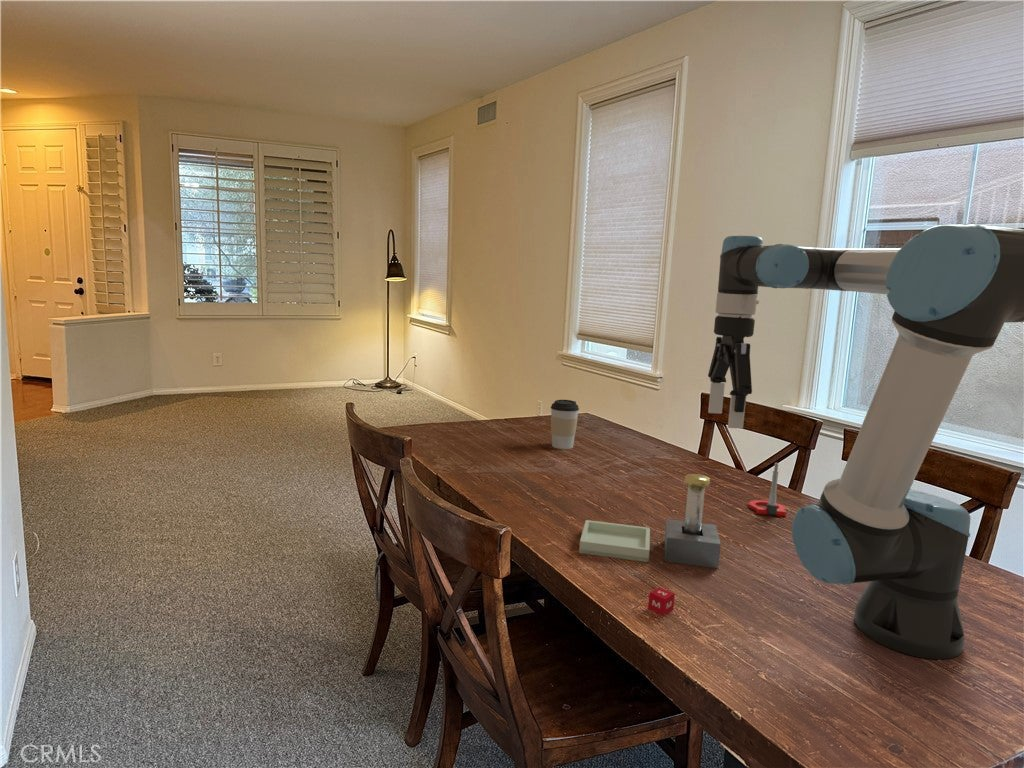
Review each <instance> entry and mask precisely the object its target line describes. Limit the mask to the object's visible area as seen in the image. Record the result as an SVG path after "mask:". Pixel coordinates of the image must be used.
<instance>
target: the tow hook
mask: <svg viewBox="0 0 1024 768" xmlns="http://www.w3.org/2000/svg"><path fill="white" fill-rule="evenodd" d="M778 470H779V462H774V468H773V471H772V476H771V477H772V478H771V487H770V493H769V496H768V500H761V499H759V500H758V499H755V500H750V501H749V502H748V507H749V508H750V509H751V510H754V511H756V514H757V515H764V516H765V515H766V516H770V515H771V516H772V517H783V516H786V517H787V511H786V507H785V506H784V505H782V504H780V503H777V495H778V494H777V487H778V479H779V478H778V477H779V471H778ZM759 504H764V505H763V506H766V507H762V506H760V505H759ZM777 508H778V509H777ZM771 516H770V517H771Z"/></svg>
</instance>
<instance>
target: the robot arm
mask: <svg viewBox="0 0 1024 768" xmlns="http://www.w3.org/2000/svg"><path fill="white" fill-rule="evenodd" d="M763 241H764V240H763V238H762V237H761V236H756V235H728V236H726V237H725V238H724V239H723V242H722V248H721V252H720V255H719V258H720V259H719V272H718V284H717V293H716V299H715V300H716V302H715V313H716V314H717V315H716V317H714V326H713V333H714V335H718V336H717V337H715V347H714V350H713V354H712V359H711V363H710V365H709V366H710V367H709V370H708V374H707V376H708V378H709V380H710V387H709V388H710V389H709V390H710V391H709V399H708V414H722V413H723V408H724V407H723V406H724V405H723V404H724V396H725V387H726V386H725V385H726V384H725V383H727V379H726V376H727V373H728V371H730V378H731V379H730V380H731V385H732V386H731V387H732V389H731V390H730V392H729V395H730V401H729V402H730V404H729V411H728V421H727V428H728V429H744V425H745V424H744V422H745V413H746V405H747V396H748V395H751V394H752V393H753V386H752V373H751V372H752V371H751V370H752V368H751V358H750V357H751V343H749V342H747V343H745V340H744V339H745V338H750V337H753V335H754V334H755V333H754V331H755V325H756V324H755V322H756V320H755V318H754V317H752V316H755V315H756V311H757V305H759V303H760V300H759V299H758V295H759V294H758V293H759V287H762V288H763V287H764V288H772V289H803V290H804V289H806V290H808V289H811V290H813V289H814V290H828V291H829V290H831V291H841V292H855V293H868V294H880V295H886V297H887V300H888V302H889V305H890V307H891V308H892V309H893V310H894V312H893V314H892V315H891V316H892V317H891V322H892V323H893V326H894V328H895V329H896V330H897V332H898V336H897V337H896V338H897V339H896V341H895V343H894V346H893V348H892V351H891V353H890V356H889V359H888V360H887V363H886V366H885V368H884V370H883V373H882V375H881V378H880V379H879V383H878V385H877V387H876V390H875V392H874V395H873V397H872V400H871V402H870V404H869V407H868V410H867V412H866V414H865V417H864V419H863V421H862V424H861V427H860V429H859V431H858V435H857V436H856V439H855V442H854V444H853V445H852V449H851V451H850V453H849V456H848V459H847V461H846V464H845V466H844V467H843V470H842V474H841V476H840V478H837V479H831V481H828V482H827V483H825V485H824V488H823V490H822V493H821V495H820V497H819V500H818V502H817V504H816V505H815V504H812V503H811V504H807V505H805V506H803V507H801V508H799V509H798V510H797V511H796V513H795V514H794V517H793V519H792V525H791V534H792V535H791V536H792V541H793V546H794V547H795V552H796V555H797V557H798V558H799V560H800V562H801V564H802V565H803V568H804V569H805V570H806V571H807V572H808V573H809V575H811V576H812V577H813V578H814V579H816V580H818V581H820V582H822V583H824V584H831V585H833V584H834V585H835V584H837V585H851V584H858V583H867V582H869V583H868V585H866V588H865V590H864V591H863V593H862V594H861V596H860V597H859V600H857V603H856V605H855V609H854V610H855V611H854V616H853V619H854V624H855V625H856V626H857V628H858V629H859V630H860V631H861V632H862V633H864V634H865V635H866V636H867V637H868V638H870V639H871V640H874V641H875V642H877V643H879V644H881V646H882V645H883V646H884V647H887V648H889V649H892V650H894V651H897V652H899V653H903V654H906V655H910V656H912V657H913V656H914V657H918V658H923V659H931V660H948V659H952V658H957V657H958V656H959V655H961V654H962V653H963V648H964V644H965V631H964V625H963V622H962V617H961V616H962V615H961V612H960V607H959V603H958V598H959V591H960V585H961V579H962V574H963V569H964V563H965V558H966V553H967V549H968V548H967V547H968V542H969V538H970V537H971V533H970V526H971V520H972V519H971V515H970V513H969V512H968V510H967V509H966V508H965V507H964V506H963V505H960V504H958V503H957V502H954V501H952V500H950V499H948V498H947V499H946V498H944V497H941V496H938V495H935V494H932V493H927V492H923V491H921V490H920V491H919V490H915V489H912V488H911V487H912V485H913V483H914V481H915V478H916V477H917V475H918V474H919V473H918V472H919V470H920V469H921V466H922V464H923V462H924V460H925V458H926V456H927V453H928V452H929V449H930V447H931V445H932V443H933V440H934V439H935V437H936V435H937V432H938V430H939V428H940V426H941V424H942V422H943V420H944V417H945V415H946V413H947V411H948V409H949V407H950V405H951V402H952V400H953V398H954V396H955V394H956V392H957V390H958V388H959V385H960V383H961V381H962V379H963V377H964V375H965V373H966V371H967V368H968V366H969V364H970V363H971V360H972V359H973V358H972V357H973V356H975V355H976V354H979V353H981V352H984V351H987V350H990V349H991V348H993V346H994V345H995V343H996V341H997V338H998V337H999V334H1000V333H1001V330H1002V329H1003V326H1004V324H1005V323H1024V229H1022V228H1011V227H1003V226H990V225H980V224H971V223H959V224H940V225H935V226H932V227H929V228H927V229H924V230H922V231H921V232H919V233H918V234H916V235H914V236H912V237H911V238H910V239H908V240H907V241H906V242H905V243H904V244H903V245H902V246H901V248H830V247H828V248H824V247H810V246H809V247H807V246H797V245H794V244H783V243H778V244H773V245H772V244H771V245H764V242H763Z"/></svg>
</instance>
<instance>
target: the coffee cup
mask: <svg viewBox="0 0 1024 768" xmlns="http://www.w3.org/2000/svg"><path fill="white" fill-rule="evenodd" d="M550 410H551V414H550V427H551V430H550V432H551V446H552V447H553V448H555V449H558V450H570V449H573V448H574V443H575V437H576V436H575V435H576V430H577V425H578V418H579V416H578V415H579V410H580V407H579V405H578V404H577V401H575V400H571V399H556V400H555V401H554V402H553V403H552V404H551V406H550Z"/></svg>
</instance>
